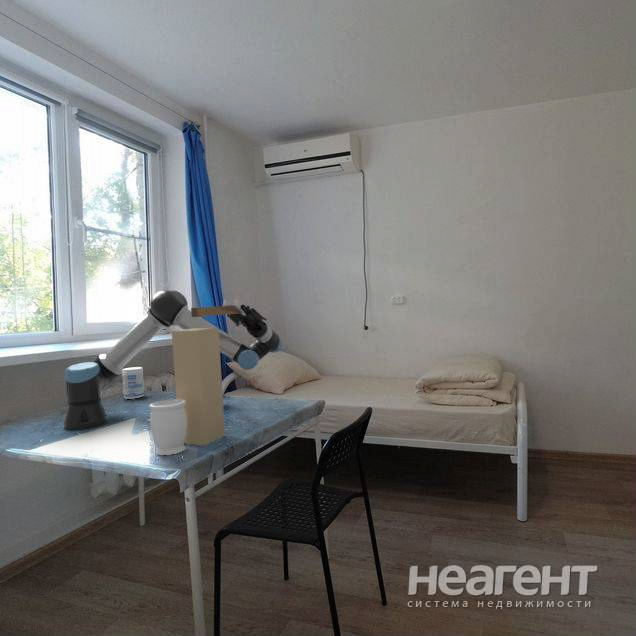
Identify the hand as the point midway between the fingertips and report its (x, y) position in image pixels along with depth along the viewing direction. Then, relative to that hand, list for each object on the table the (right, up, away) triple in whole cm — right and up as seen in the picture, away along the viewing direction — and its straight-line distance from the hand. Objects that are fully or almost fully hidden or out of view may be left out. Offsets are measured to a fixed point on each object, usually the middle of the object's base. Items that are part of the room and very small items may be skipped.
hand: (229, 302), depth 173 cm
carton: (-6, -45, -17) cm, 49 cm away
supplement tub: (-58, -45, +61) cm, 96 cm away
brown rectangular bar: (-2, -5, -6) cm, 8 cm away
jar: (-13, -46, -29) cm, 56 cm away
